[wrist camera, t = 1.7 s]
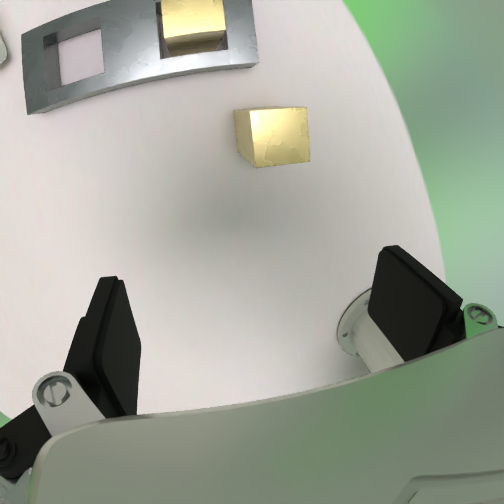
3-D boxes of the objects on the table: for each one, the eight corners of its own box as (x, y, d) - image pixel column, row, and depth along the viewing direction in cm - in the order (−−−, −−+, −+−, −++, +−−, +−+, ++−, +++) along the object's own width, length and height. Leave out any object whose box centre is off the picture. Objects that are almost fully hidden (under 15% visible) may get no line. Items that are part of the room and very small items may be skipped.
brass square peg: (275, 106, 27) (306, 107, 20) (279, 147, 28) (310, 161, 21) (233, 110, 26) (250, 111, 19) (238, 152, 28) (255, 168, 21)
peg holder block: (241, -7, 21) (261, -41, 14) (250, 67, 24) (273, 53, 17) (37, 40, 18) (-4, 26, 11) (43, 113, 22) (1, 118, 15)
